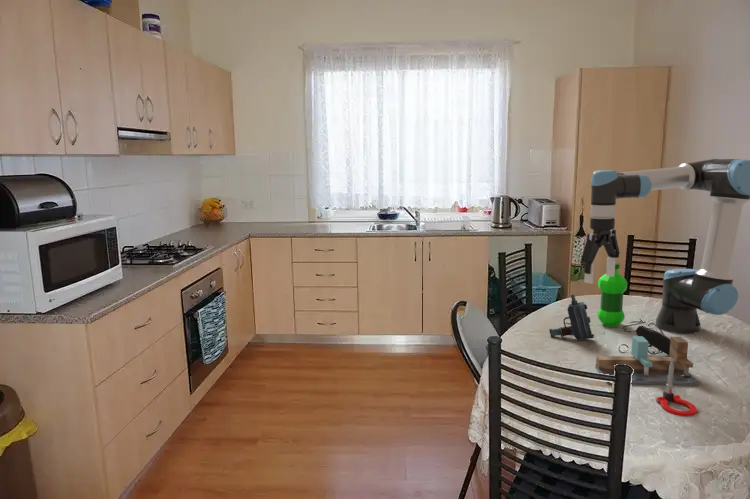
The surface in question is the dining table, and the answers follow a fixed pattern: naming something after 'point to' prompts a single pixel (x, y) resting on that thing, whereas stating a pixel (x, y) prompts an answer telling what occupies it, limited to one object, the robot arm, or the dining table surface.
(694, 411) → the tow hook
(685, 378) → the bolt plate
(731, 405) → the dining table surface
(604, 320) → the plastic bottle
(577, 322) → the gun
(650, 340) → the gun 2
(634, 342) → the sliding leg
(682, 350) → the wooden clamp
